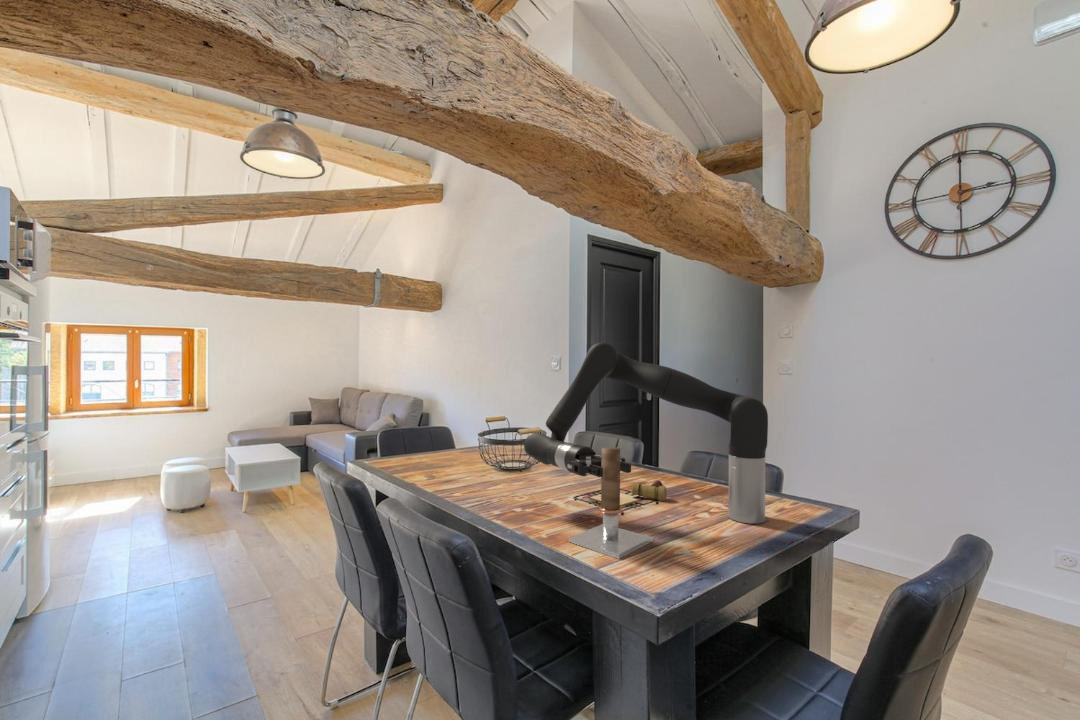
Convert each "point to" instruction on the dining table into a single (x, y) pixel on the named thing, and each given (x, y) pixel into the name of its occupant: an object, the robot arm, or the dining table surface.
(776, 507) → the dining table surface
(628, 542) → the steel post
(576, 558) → the dining table surface
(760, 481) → the robot arm
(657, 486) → the olive strapped bedroll
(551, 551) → the dining table surface
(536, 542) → the dining table surface
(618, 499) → the walnut dowel
